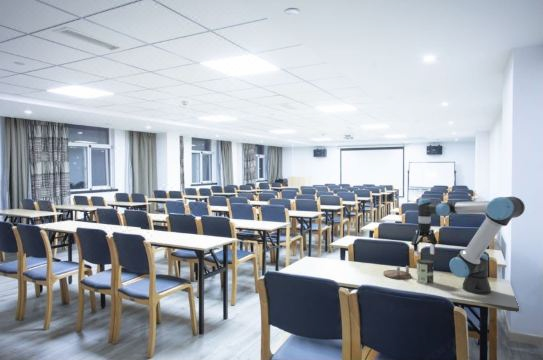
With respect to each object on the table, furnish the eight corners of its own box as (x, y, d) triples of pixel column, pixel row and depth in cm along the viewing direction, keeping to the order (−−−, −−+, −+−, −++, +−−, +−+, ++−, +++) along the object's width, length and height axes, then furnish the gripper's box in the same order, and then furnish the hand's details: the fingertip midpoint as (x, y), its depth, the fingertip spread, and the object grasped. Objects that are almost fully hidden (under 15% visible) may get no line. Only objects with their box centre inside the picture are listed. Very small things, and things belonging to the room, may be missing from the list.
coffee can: (431, 280, 242) (431, 259, 242) (435, 285, 232) (435, 263, 232) (415, 279, 244) (415, 258, 244) (418, 284, 234) (418, 262, 234)
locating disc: (416, 277, 248) (416, 266, 248) (396, 280, 241) (396, 269, 241) (397, 270, 265) (397, 260, 265) (378, 273, 258) (378, 263, 257)
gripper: (434, 221, 246) (434, 252, 247) (405, 223, 237) (405, 255, 237) (443, 222, 240) (443, 254, 240) (414, 224, 230) (414, 257, 230)
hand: (424, 255), depth 238 cm, fingers open, 13 cm apart
